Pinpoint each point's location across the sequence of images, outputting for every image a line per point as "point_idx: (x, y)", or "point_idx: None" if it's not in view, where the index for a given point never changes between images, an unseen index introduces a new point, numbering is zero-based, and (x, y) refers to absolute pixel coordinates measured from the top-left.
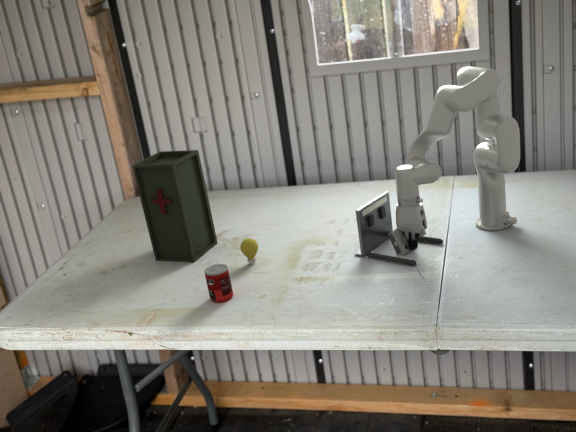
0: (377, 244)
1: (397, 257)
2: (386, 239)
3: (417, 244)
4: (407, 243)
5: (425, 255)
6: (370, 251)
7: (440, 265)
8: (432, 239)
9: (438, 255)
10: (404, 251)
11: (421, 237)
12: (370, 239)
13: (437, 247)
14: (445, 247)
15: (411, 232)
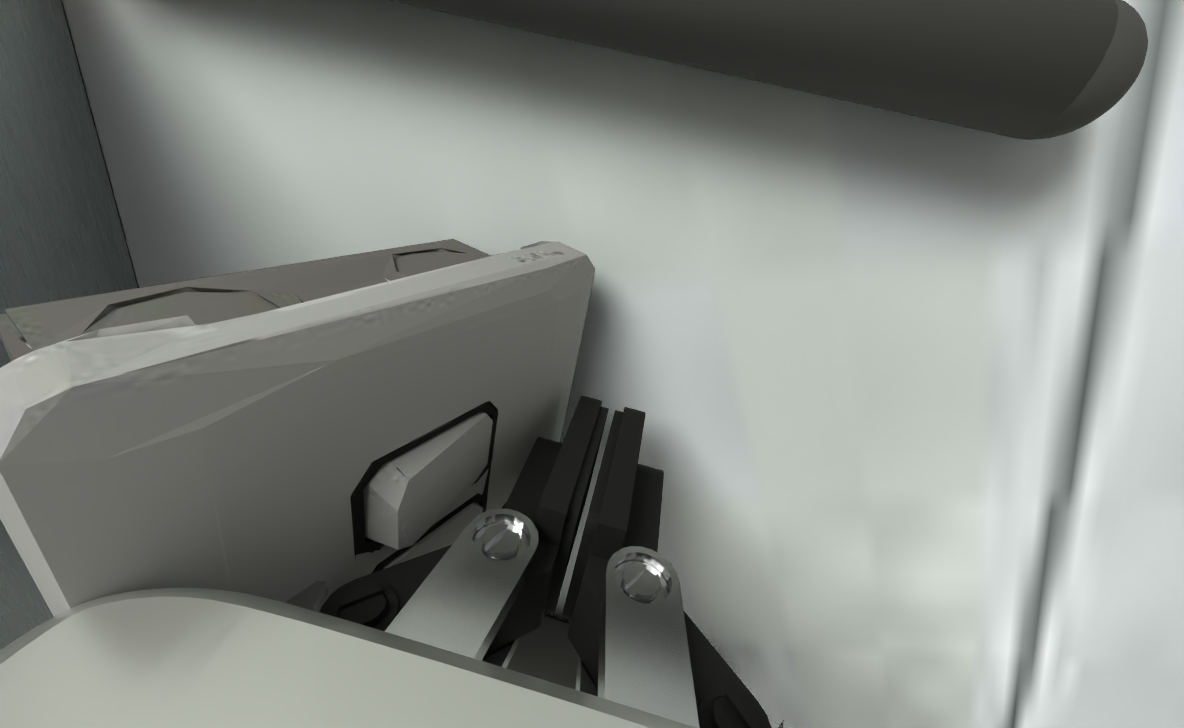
0: None
1: (519, 670)
2: (58, 97)
3: (660, 494)
4: (498, 481)
5: (781, 490)
6: None
7: (984, 681)
8: (881, 84)
9: (964, 489)
10: None
11: (606, 13)
12: (2, 524)
13: (949, 238)
14: (1114, 221)
15: (499, 626)
